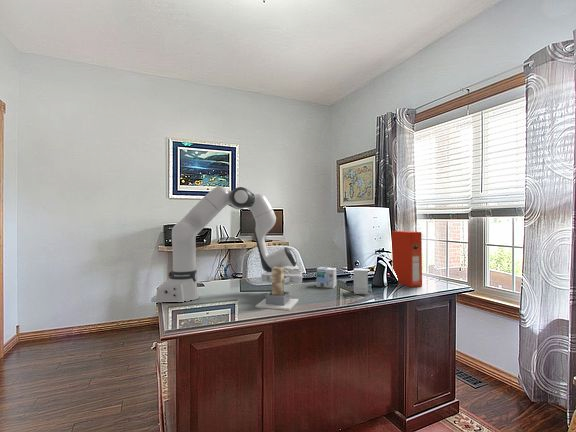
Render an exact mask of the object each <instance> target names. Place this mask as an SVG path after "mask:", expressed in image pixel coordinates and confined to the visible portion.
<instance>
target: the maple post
mask: <svg viewBox="0 0 576 432" xmlns="http://www.w3.org/2000/svg"><path fill="white" fill-rule="evenodd" d="M283 278H284V267H274V268H272V282H271V291H272V295H277V296H283V295H284V292H285V285H284V283H282V279H283Z"/></svg>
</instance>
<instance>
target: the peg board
mask: <svg viewBox="0 0 576 432" xmlns="http://www.w3.org/2000/svg"><path fill="white" fill-rule="evenodd" d="M298 302H299V298H291V297H290V291H284V295H283V296H277V295H272V290H271V291H270V292H268V293H266V295H265V298H264V299H263V300H261V301H260V302H258V303H257V304H256V305H255V308H260V309H270V310H271V309H272V310H285V311H291V309H293V307H294V306H295V305H296V304H297V303H298Z"/></svg>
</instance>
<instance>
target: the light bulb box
mask: <svg viewBox="0 0 576 432" xmlns="http://www.w3.org/2000/svg"><path fill="white" fill-rule="evenodd" d="M315 285H316V286H315V287H319V288H328V289H335V286H337V268H336V267H323V266H319V267H317V268H316V284H315Z"/></svg>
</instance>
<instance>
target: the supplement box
mask: <svg viewBox="0 0 576 432" xmlns="http://www.w3.org/2000/svg"><path fill="white" fill-rule="evenodd" d="M368 275H369V271H368V268H363V267H361V268H357V267H356V268H355V267H354V268H353V294H355V295H357V294H358V295H369V276H368Z"/></svg>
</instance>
